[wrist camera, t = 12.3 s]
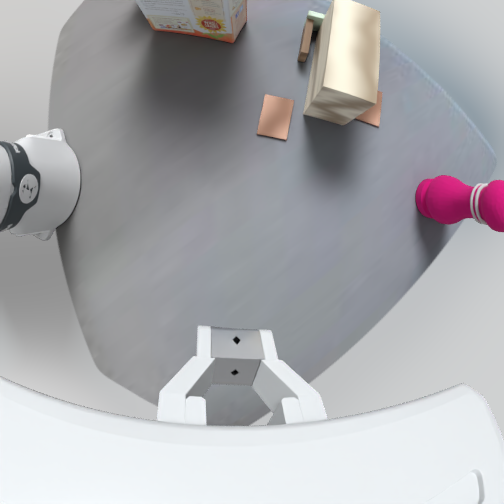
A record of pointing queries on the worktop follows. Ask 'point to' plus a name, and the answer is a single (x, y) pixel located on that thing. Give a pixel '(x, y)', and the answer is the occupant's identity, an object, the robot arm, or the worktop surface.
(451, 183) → the pepper mill
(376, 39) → the maple block
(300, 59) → the trap course
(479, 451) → the robot arm
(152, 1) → the cracker box
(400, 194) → the worktop surface
